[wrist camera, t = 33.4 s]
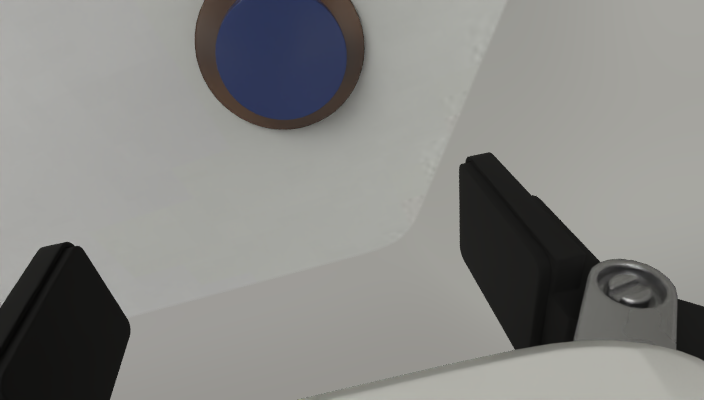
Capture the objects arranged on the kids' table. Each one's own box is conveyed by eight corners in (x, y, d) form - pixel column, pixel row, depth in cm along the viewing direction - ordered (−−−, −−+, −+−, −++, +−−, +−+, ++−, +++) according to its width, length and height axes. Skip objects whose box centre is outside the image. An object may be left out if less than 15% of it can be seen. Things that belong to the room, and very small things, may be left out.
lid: (235, 119, 26) (234, 129, 25) (199, -5, 22) (195, 1, 21) (350, 99, 26) (353, 108, 25) (334, -26, 22) (337, -22, 21)
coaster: (371, 110, 27) (373, 113, 27) (225, 139, 27) (224, 143, 26) (350, -58, 22) (352, -57, 22) (169, -25, 22) (167, -24, 21)
